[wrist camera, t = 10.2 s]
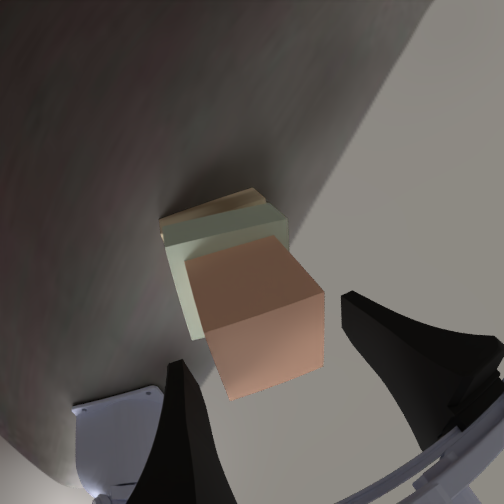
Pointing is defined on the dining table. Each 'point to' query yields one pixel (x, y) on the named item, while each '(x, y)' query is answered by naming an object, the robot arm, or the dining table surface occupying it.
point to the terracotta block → (258, 315)
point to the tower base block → (215, 207)
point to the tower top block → (216, 245)
